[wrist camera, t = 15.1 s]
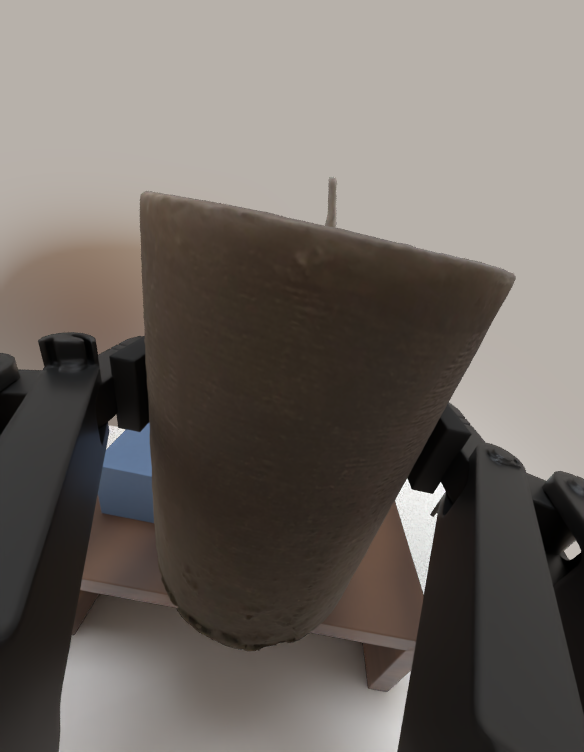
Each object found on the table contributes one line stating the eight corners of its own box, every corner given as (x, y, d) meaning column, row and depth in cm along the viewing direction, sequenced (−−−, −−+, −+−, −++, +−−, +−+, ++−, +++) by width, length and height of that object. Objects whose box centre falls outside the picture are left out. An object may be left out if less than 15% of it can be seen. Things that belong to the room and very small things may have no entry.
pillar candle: (230, 741, 8) (545, -90, 1) (126, 503, 14) (75, 116, 7) (386, 543, 15) (575, 236, 8) (272, 436, 20) (322, 204, 13)
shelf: (53, 631, 20) (7, 537, 15) (151, 482, 33) (146, 400, 27) (387, 692, 21) (463, 624, 16) (360, 523, 34) (397, 452, 28)
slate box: (101, 513, 20) (91, 464, 18) (146, 454, 25) (143, 411, 23) (182, 528, 20) (183, 482, 18) (210, 467, 25) (213, 425, 23)
